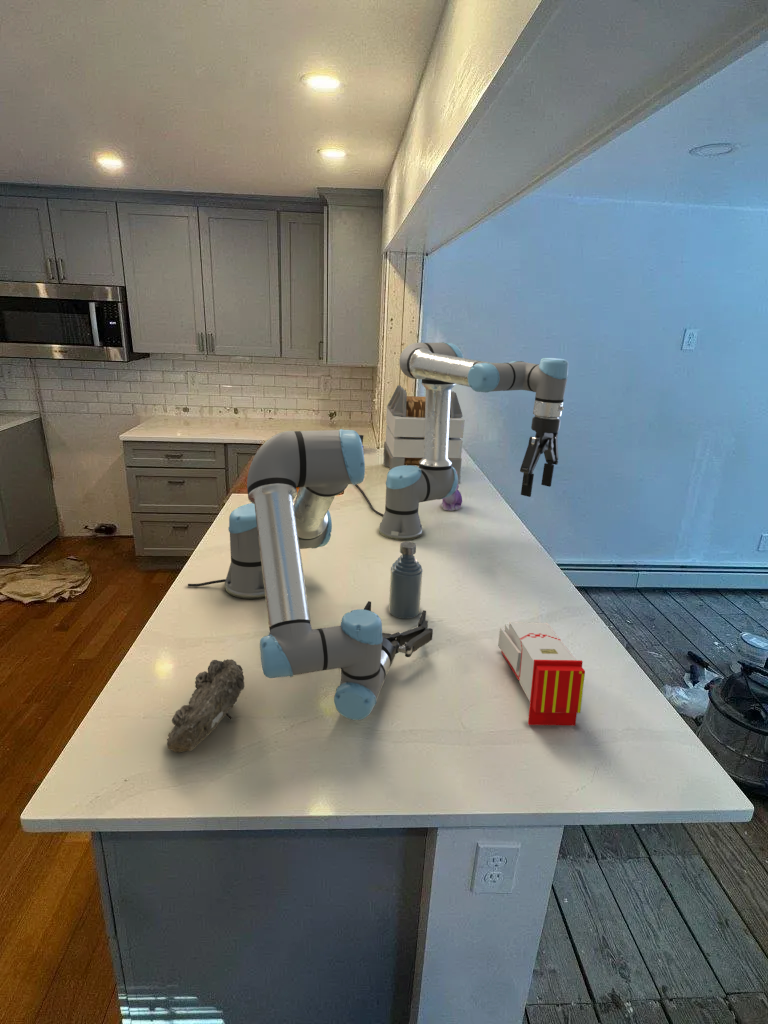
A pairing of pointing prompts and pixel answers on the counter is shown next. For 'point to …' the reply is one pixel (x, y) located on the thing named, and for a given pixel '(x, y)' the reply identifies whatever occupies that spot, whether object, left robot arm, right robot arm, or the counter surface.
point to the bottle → (405, 587)
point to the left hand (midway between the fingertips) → (396, 610)
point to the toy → (544, 672)
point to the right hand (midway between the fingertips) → (536, 490)
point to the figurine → (452, 501)
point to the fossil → (206, 705)
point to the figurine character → (361, 439)
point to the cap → (408, 548)
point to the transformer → (417, 431)
